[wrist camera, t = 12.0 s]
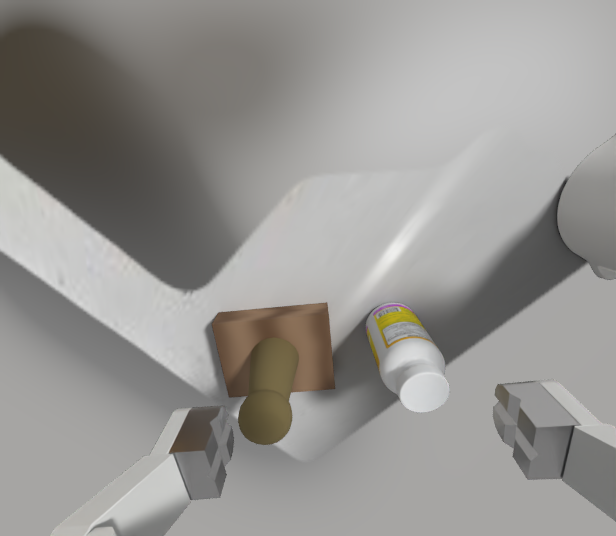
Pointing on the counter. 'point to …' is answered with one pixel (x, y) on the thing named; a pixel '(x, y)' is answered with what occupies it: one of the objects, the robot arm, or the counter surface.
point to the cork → (269, 392)
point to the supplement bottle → (407, 357)
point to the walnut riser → (276, 324)
